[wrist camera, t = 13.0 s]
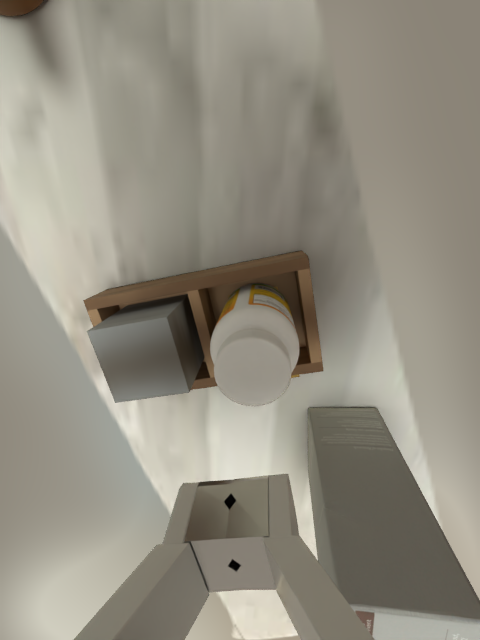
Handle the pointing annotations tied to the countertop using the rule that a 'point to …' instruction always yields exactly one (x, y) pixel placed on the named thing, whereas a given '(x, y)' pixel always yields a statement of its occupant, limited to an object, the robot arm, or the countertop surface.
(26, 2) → the mug
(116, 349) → the caddy
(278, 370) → the supplement bottle
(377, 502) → the skincare box
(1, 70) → the countertop surface
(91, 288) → the countertop surface
